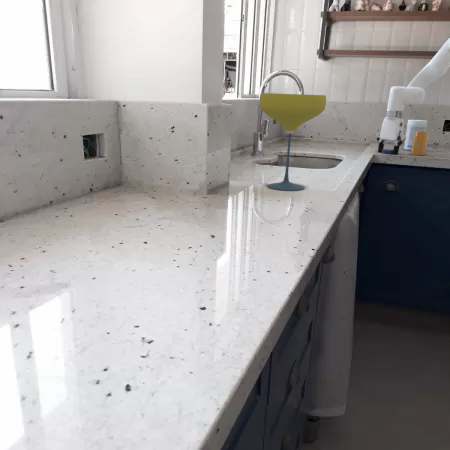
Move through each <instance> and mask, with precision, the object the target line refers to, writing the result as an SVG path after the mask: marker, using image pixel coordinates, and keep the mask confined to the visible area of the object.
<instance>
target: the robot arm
mask: <svg viewBox="0 0 450 450" xmlns="http://www.w3.org/2000/svg"><path fill="white" fill-rule="evenodd" d="M449 68H450V37H449V38H447V40H446V41H445V42H444V44H443V45H441V47H440V48H439V50H438V51H437V52H436V54H434V56H433V57H432V59H430V61H429V62H428V63H427V64H426V65H425V66H424V67H423V68H422V69H421V70H420V71H419V72H418V73H417V74H416V75H415V76H414V77H413V78H412V80H410V82H409V83H408V85H406V86H399V85H398V86H397V85H395V86H391V88H390V90H389V94H388V99H387V100H388V101H387V107H386V113H385V117H384V118H383V121H382V123H381V127H380V130H379V131H378V132H376V133H375V137H376V141H377V144H378V146H377V147H378V148H377V153H382V149H385V148H384V147H385V141H393V143H394V146H393V148H392V149H393V154H392V155H393V156H395V155H398V154H399V151H400V147H401V146H402V144H404V143H405V139H406V134H404V127H405V121H404V118H403V117H404V116H405V113H404V111H405V106H406V104H407V105H419V104H421V103H422V102H424V100H425V98H426V91H425V89H426V88H427V87H428V86H429V85H430V84H432V83H433V82H434V81H436V80H437V79H440V78H441V77H442V76H443V75H445V74H446V72H447V71H448V70H449Z"/></svg>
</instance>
